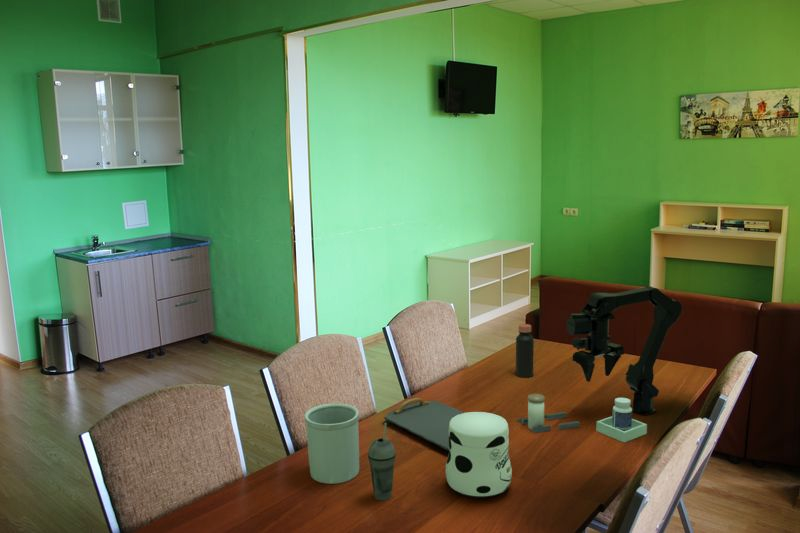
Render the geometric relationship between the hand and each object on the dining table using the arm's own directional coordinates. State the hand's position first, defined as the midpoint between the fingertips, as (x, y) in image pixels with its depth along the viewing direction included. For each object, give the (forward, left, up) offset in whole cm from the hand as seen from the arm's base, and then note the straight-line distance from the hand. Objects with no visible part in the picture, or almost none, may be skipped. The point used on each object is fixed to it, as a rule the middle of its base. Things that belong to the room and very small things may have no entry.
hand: (597, 378), depth 222 cm
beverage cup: (+85, +2, -13) cm, 86 cm away
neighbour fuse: (+22, -6, -13) cm, 26 cm away
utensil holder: (+89, -17, -13) cm, 92 cm away
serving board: (+47, -22, -14) cm, 54 cm away
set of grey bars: (+17, -5, -13) cm, 22 cm away
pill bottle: (+4, +13, -13) cm, 19 cm away
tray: (+4, +13, -13) cm, 19 cm away
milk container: (+62, +13, -13) cm, 65 cm away
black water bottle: (-10, -44, -13) cm, 47 cm away
